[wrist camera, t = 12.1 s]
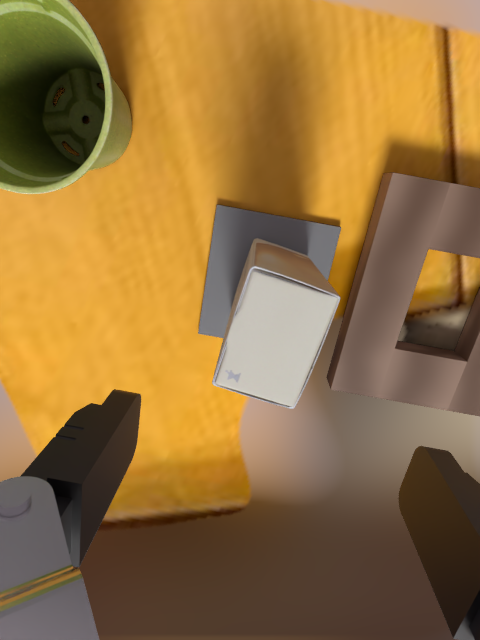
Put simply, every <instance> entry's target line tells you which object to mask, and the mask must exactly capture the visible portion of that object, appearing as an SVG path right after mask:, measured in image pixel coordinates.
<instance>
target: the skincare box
mask: <svg viewBox="0 0 480 640" xmlns="http://www.w3.org/2000/svg"><path fill="white" fill-rule="evenodd" d="M339 301H340V296H339V295H338V294H337V292H336V291H335V290H334V289H333V287H332V286H331V285H330V283H329V282H328V281H327V280H326V278H325V277H324V276H323V275H322V273H321V272H320V271H319V269H318V268H317V267H316V266H315V265H314V263H313V262H312V261H311V259H310V258H309V257H308V256H307V255H304V254H302V253H299V252H296V251H294V250H291V249H288V248H285V247H283V246H280V245H277V244H274V243H271V242H268V241H265V240H262V239H259V238H256V239H254V240H253V243H252V246H251V248H250V251H249V254H248V257H247V260H246V263H245V266H244V268H243V271H242V275H241V278H240V281H239V284H238V287H237V291H236V294H235V297H234V301H233V304H232V308H231V311H230V316H229V319H228V324H227V327H226V331H225V335H224V339H223V343H222V346H221V350H220V354H219V358H218V361H217V365H216V369H215V373H214V378H213V381H212V384H213V385H215V386H217V387H220V388H224V389H227V390H230V391H233V392H236V393H239V394H242V395H245V396H249V397H252V398H255V399H258V400H261V401H264V402H268V403H271V404H275V405H279V406H283V407H286V408H291V409H293V408H294V407H295V406H296V404H297V402H298V400H299V398H300V396H301V394H302V392H303V390H304V388H305V386H306V384H307V381H308V379H309V377H310V375H311V372H312V370H313V367H314V365H315V363H316V360H317V357H318V355H319V352H320V351H321V348H322V346H323V343H324V341H325V338H326V335H327V333H328V330H329V328H330V325H331V322H332V320H333V317H334V314H335V312H336V309H337V306H338V304H339Z"/></svg>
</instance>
